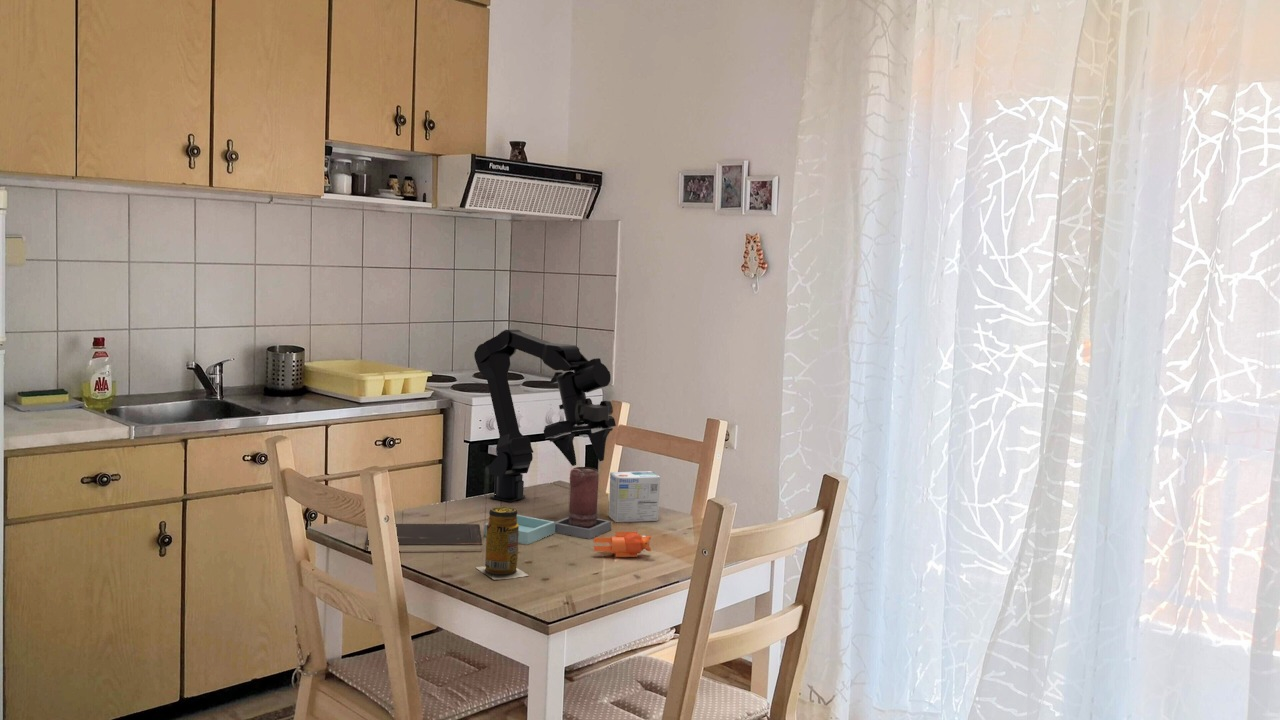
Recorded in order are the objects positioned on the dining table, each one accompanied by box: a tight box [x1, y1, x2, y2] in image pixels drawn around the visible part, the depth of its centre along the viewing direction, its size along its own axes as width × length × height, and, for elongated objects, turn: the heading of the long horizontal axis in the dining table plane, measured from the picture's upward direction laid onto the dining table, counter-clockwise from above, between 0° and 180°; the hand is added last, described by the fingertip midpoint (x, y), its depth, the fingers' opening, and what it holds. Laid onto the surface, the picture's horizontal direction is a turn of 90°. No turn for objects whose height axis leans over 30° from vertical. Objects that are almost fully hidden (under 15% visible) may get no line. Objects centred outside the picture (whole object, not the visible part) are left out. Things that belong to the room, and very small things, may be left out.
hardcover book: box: [364, 523, 483, 553], centre depth 213 cm, size 16×23×2 cm
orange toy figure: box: [593, 531, 652, 558], centre depth 210 cm, size 5×8×12 cm
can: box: [568, 466, 600, 529], centre depth 226 cm, size 6×6×14 cm
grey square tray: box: [555, 516, 612, 540], centre depth 227 cm, size 10×10×2 cm
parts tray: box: [483, 514, 556, 546], centre depth 221 cm, size 11×11×3 cm
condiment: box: [475, 506, 530, 581], centre depth 194 cm, size 7×8×12 cm
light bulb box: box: [608, 470, 661, 523], centre depth 240 cm, size 11×7×11 cm, turn 108°
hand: (588, 463), depth 236 cm, fingers open, 9 cm apart
